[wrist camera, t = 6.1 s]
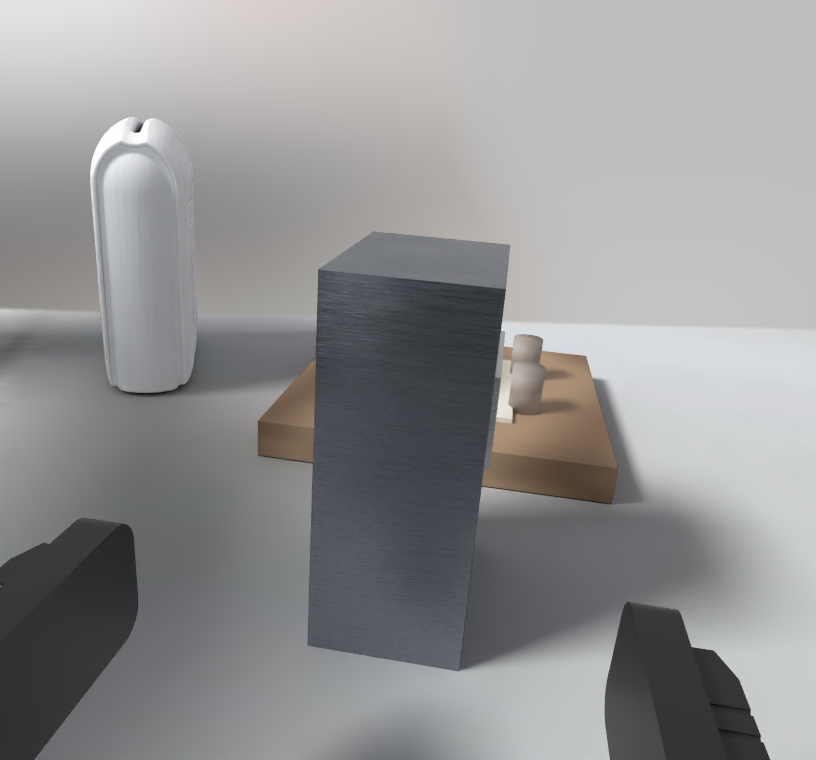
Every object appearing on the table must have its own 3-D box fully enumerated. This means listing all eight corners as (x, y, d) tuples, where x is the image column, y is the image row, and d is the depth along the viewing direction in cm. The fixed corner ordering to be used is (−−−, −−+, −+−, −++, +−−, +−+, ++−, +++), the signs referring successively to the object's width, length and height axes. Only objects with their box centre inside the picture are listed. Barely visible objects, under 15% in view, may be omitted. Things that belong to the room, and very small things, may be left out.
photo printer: (125, 334, 42) (109, 113, 38) (199, 333, 43) (193, 119, 39) (97, 398, 33) (73, 114, 28) (194, 396, 34) (184, 122, 29)
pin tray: (258, 455, 28) (257, 373, 27) (341, 352, 41) (343, 294, 40) (611, 503, 27) (627, 419, 25) (581, 381, 40) (591, 321, 39)
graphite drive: (307, 645, 18) (318, 269, 15) (357, 525, 24) (373, 231, 21) (464, 672, 18) (512, 290, 14) (477, 543, 24) (515, 245, 20)
